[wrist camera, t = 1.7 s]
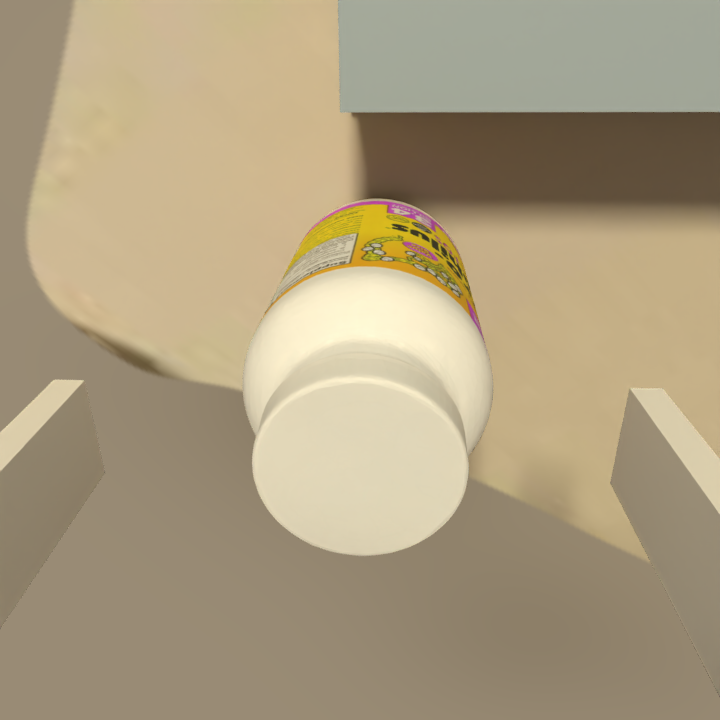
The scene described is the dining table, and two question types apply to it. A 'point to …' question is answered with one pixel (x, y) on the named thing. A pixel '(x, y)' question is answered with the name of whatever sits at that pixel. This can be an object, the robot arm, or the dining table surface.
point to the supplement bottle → (368, 382)
